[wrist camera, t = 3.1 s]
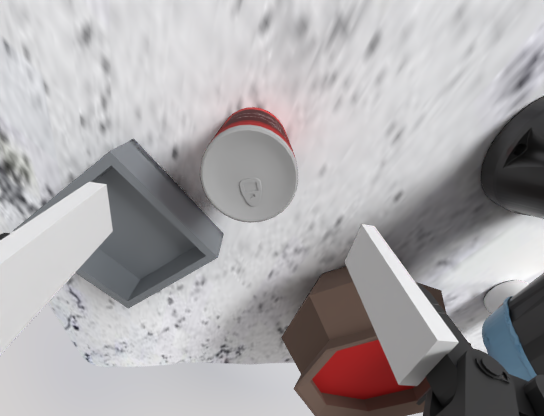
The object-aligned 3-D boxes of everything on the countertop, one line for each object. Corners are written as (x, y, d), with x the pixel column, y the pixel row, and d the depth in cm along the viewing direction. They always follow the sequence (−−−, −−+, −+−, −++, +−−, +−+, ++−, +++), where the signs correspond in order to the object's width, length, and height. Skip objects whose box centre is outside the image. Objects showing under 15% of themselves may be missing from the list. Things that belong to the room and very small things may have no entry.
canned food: (240, 184, 31) (231, 235, 21) (207, 124, 27) (177, 154, 18) (297, 159, 30) (313, 202, 20) (269, 93, 26) (274, 107, 16)
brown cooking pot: (278, 240, 35) (289, 354, 21) (441, 234, 36) (558, 343, 22) (278, 340, 47) (285, 456, 33) (401, 335, 48) (460, 448, 34)
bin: (223, 233, 34) (217, 257, 30) (143, 281, 38) (128, 308, 34) (133, 138, 28) (109, 151, 23) (47, 208, 32) (13, 230, 27)
